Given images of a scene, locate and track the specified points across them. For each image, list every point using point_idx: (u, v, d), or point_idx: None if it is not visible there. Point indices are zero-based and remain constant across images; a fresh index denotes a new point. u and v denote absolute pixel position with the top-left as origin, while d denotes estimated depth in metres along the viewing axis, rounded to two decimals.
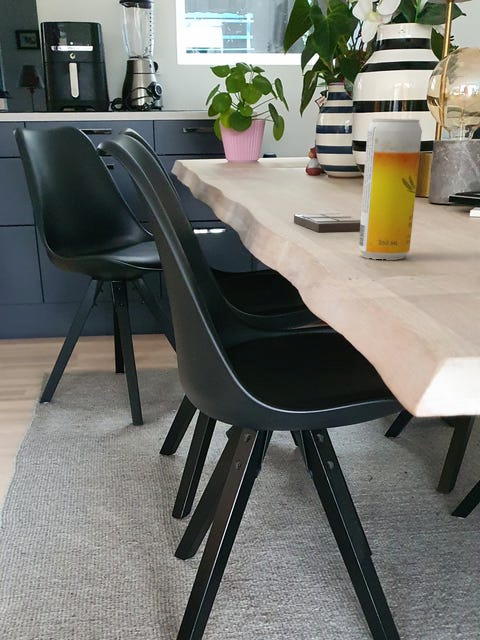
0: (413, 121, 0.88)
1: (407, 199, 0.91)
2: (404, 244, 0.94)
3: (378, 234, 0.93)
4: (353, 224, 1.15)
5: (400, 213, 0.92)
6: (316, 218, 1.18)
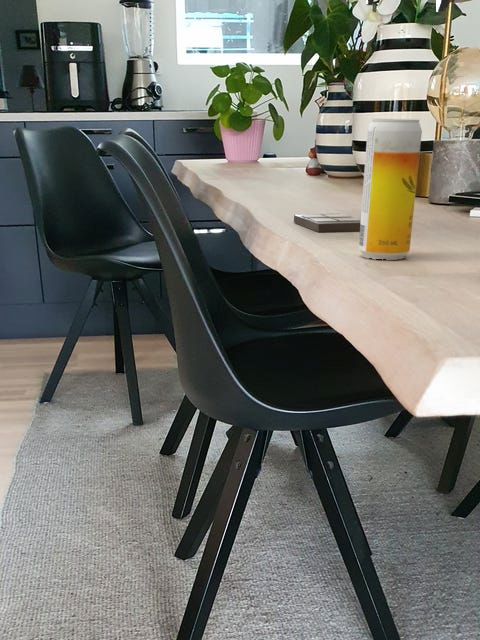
0: (413, 121, 0.88)
1: (407, 199, 0.91)
2: (404, 244, 0.94)
3: (378, 234, 0.93)
4: (353, 224, 1.15)
5: (400, 213, 0.92)
6: (316, 218, 1.18)
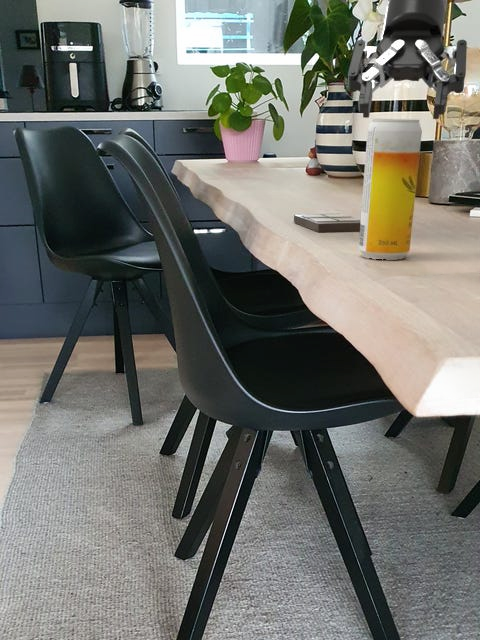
0: (413, 121, 0.88)
1: (407, 199, 0.91)
2: (404, 244, 0.94)
3: (378, 234, 0.93)
4: (353, 224, 1.15)
5: (400, 213, 0.92)
6: (316, 218, 1.18)
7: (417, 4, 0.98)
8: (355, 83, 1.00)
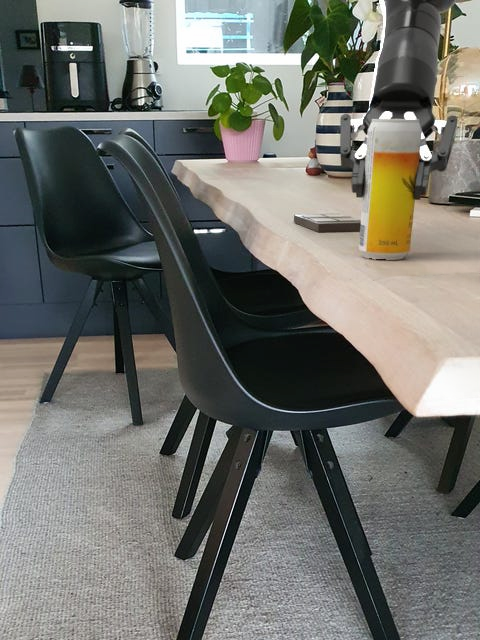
0: (413, 121, 0.88)
1: (408, 199, 0.91)
2: (404, 244, 0.94)
3: (379, 234, 0.93)
4: (353, 224, 1.15)
5: (400, 213, 0.92)
6: (316, 218, 1.18)
7: (406, 74, 0.92)
8: (347, 161, 0.94)
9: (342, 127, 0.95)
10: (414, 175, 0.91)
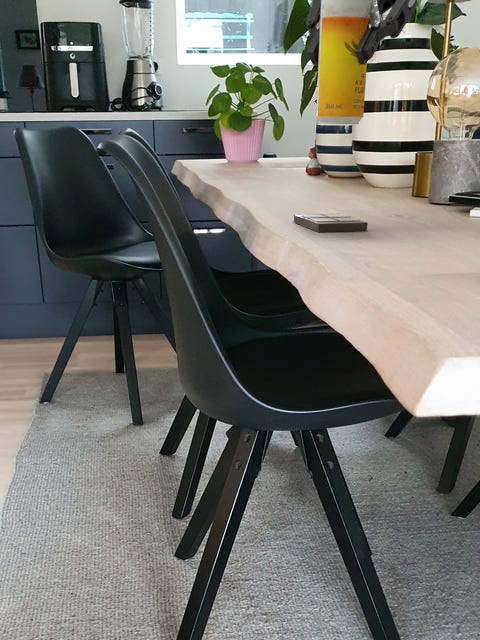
0: None
1: (351, 63, 0.98)
2: (350, 108, 1.00)
3: (325, 97, 1.00)
4: (353, 224, 1.15)
5: (344, 77, 0.99)
6: (316, 218, 1.18)
7: None
8: (312, 32, 1.02)
9: (314, 1, 1.03)
10: (359, 40, 0.97)
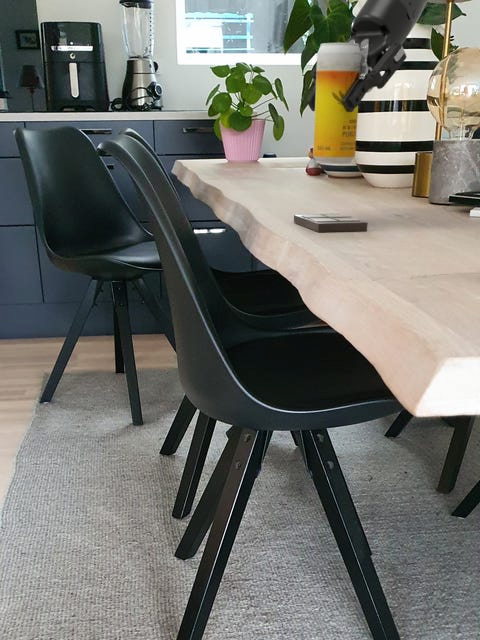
0: (343, 44, 1.07)
1: (339, 110, 1.10)
2: (338, 150, 1.13)
3: (317, 140, 1.13)
4: (353, 224, 1.15)
5: (332, 122, 1.11)
6: (316, 218, 1.18)
7: (370, 7, 1.10)
8: None
9: None
10: (346, 90, 1.09)
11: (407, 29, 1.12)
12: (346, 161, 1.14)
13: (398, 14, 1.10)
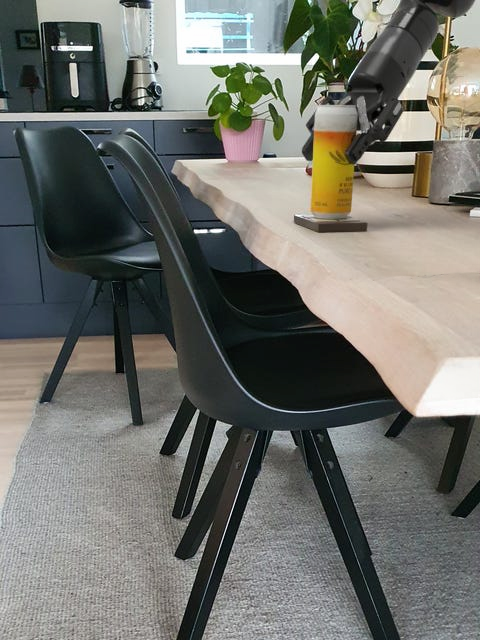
0: (340, 106, 1.11)
1: (336, 169, 1.14)
2: (334, 206, 1.16)
3: (314, 196, 1.17)
4: (353, 224, 1.15)
5: (329, 180, 1.15)
6: (316, 218, 1.18)
7: (366, 65, 1.13)
8: (311, 132, 1.19)
9: None
10: (342, 150, 1.13)
11: (402, 86, 1.15)
12: (342, 216, 1.18)
13: (393, 72, 1.13)
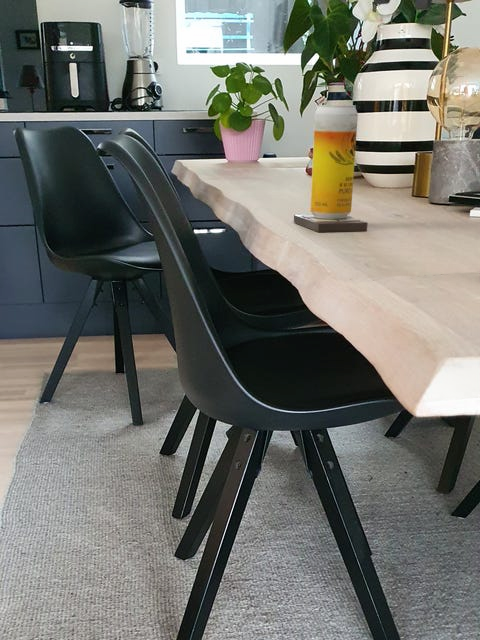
0: (340, 106, 1.11)
1: (336, 169, 1.14)
2: (334, 206, 1.16)
3: (314, 196, 1.17)
4: (353, 224, 1.15)
5: (329, 180, 1.15)
6: (316, 218, 1.18)
7: None
8: None
9: None
10: (342, 150, 1.13)
11: None
12: (342, 216, 1.18)
13: None
